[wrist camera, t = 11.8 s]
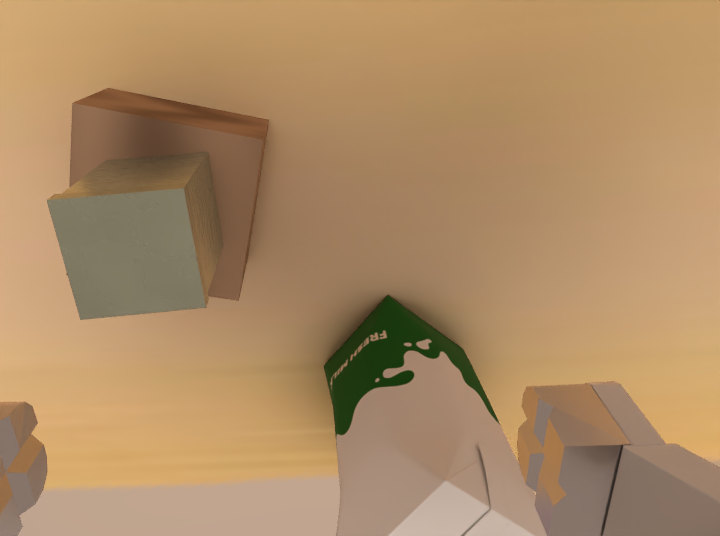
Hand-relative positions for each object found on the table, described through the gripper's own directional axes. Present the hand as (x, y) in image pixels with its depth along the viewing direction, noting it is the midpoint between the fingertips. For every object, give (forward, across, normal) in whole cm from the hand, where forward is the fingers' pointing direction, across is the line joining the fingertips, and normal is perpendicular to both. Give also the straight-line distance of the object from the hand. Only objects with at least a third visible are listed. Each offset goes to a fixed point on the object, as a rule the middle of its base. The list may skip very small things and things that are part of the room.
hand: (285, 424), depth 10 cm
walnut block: (+28, +8, +4) cm, 29 cm away
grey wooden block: (+22, +8, +3) cm, 23 cm away
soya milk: (+28, -5, +17) cm, 33 cm away
